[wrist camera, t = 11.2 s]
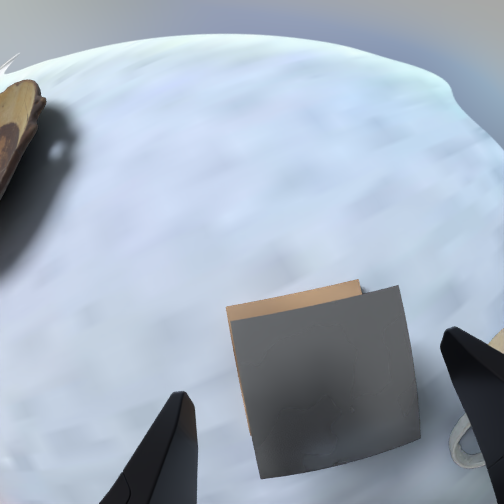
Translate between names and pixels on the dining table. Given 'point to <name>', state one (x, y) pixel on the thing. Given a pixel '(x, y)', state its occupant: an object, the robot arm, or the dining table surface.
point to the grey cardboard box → (328, 382)
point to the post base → (289, 306)
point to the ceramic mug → (500, 343)
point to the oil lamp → (17, 125)
